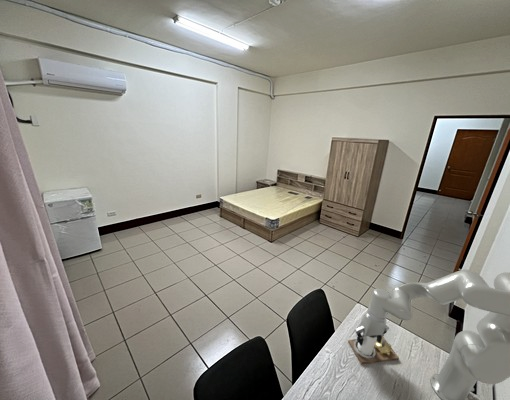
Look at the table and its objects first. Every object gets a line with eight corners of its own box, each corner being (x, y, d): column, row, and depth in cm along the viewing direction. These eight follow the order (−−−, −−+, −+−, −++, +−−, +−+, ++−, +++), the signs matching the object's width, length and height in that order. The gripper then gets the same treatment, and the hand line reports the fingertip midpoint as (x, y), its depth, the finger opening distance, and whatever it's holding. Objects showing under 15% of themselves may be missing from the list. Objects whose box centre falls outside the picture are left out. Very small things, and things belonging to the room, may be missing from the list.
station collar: (366, 339, 111) (367, 337, 111) (379, 358, 102) (379, 356, 102) (349, 341, 109) (350, 339, 109) (361, 360, 100) (361, 358, 100)
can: (368, 344, 108) (374, 327, 104) (373, 357, 102) (380, 339, 98) (355, 342, 109) (360, 325, 105) (359, 355, 103) (365, 337, 99)
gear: (383, 338, 112) (385, 332, 111) (396, 355, 104) (398, 349, 102) (368, 340, 111) (370, 333, 109) (380, 357, 103) (382, 350, 101)
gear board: (382, 338, 114) (383, 336, 113) (398, 359, 104) (399, 357, 103) (348, 342, 111) (348, 340, 110) (360, 364, 100) (361, 362, 100)
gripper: (387, 306, 103) (379, 332, 108) (354, 309, 100) (347, 336, 106) (399, 319, 96) (389, 346, 101) (364, 323, 93) (356, 351, 99)
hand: (368, 341), depth 103 cm, fingers open, 9 cm apart
